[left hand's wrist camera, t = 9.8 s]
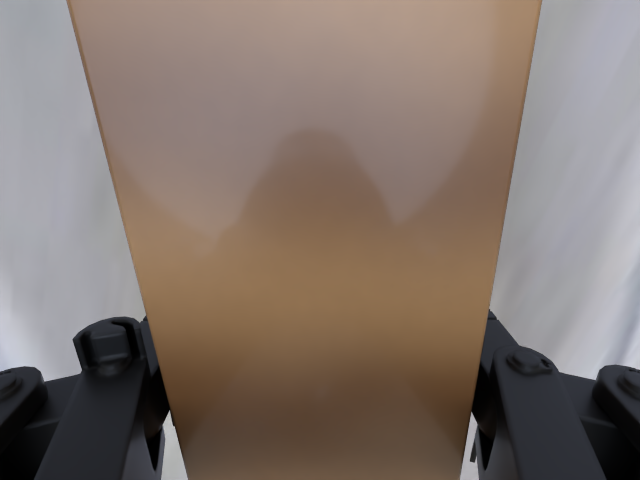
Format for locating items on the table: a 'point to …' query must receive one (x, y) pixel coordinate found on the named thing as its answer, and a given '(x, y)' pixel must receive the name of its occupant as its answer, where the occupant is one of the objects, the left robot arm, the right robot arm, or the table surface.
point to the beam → (313, 218)
